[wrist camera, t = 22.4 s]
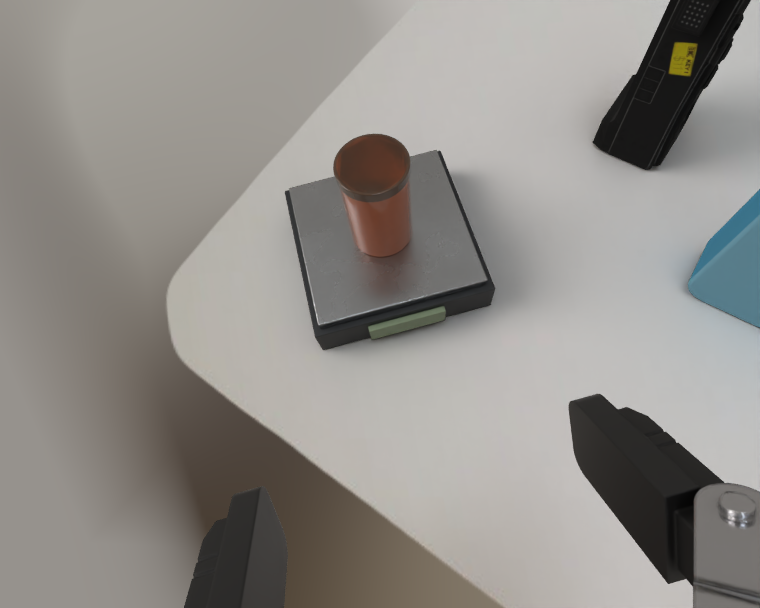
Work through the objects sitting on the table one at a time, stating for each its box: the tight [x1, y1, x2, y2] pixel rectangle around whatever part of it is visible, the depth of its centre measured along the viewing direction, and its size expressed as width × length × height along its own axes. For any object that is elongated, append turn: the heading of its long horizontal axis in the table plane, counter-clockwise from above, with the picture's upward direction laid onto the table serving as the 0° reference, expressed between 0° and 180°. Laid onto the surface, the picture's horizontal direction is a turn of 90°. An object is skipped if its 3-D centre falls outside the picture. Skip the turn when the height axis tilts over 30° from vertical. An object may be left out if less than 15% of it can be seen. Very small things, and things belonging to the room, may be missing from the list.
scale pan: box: [289, 150, 488, 329], centre depth 39 cm, size 13×13×1 cm
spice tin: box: [333, 134, 412, 257], centre depth 35 cm, size 5×5×8 cm
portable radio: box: [593, 0, 751, 169], centre depth 34 cm, size 8×6×25 cm
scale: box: [285, 151, 495, 350], centre depth 41 cm, size 14×14×3 cm
